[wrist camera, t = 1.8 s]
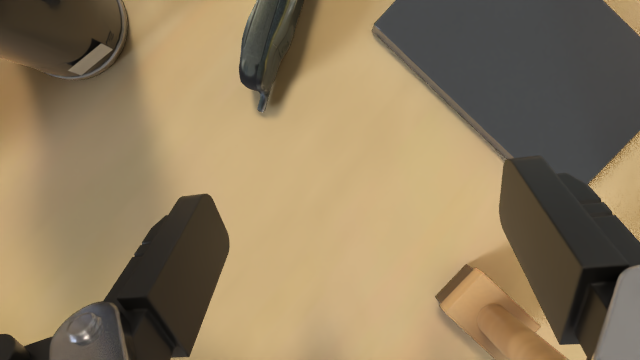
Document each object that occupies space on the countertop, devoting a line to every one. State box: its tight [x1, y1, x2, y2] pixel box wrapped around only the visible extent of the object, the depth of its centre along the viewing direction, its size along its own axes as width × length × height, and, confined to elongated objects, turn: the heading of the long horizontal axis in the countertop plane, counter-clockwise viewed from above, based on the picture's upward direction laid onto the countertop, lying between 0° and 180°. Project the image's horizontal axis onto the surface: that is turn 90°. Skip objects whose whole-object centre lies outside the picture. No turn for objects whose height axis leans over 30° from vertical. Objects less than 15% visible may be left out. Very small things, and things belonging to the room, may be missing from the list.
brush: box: [435, 264, 569, 360], centre depth 26 cm, size 6×4×13 cm
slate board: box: [372, 0, 640, 184], centre depth 31 cm, size 22×14×2 cm, turn 47°
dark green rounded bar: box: [239, 0, 304, 112], centre depth 29 cm, size 5×3×15 cm
